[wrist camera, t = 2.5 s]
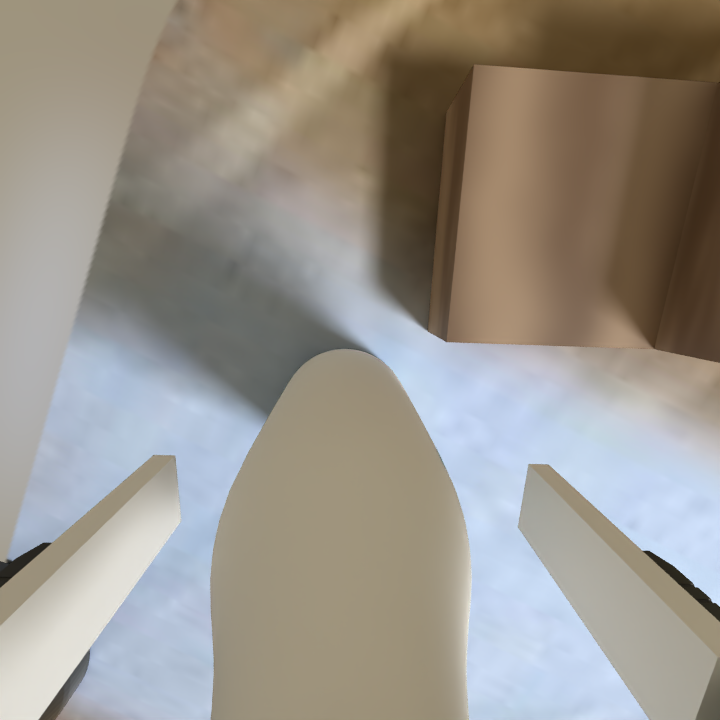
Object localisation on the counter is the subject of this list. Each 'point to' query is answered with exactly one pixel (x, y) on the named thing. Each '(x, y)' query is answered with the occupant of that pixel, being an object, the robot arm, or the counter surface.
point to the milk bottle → (341, 560)
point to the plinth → (579, 212)
